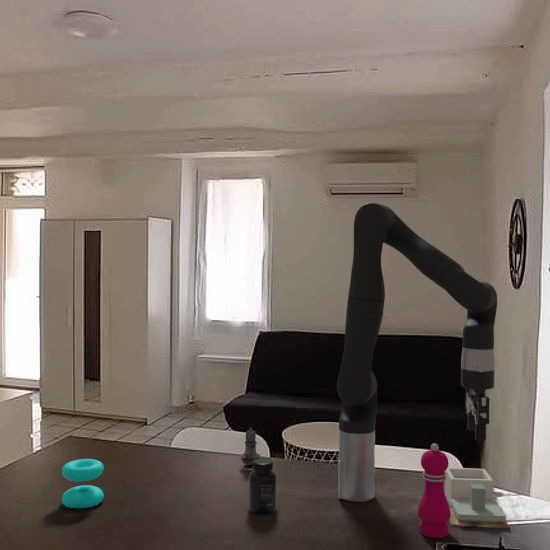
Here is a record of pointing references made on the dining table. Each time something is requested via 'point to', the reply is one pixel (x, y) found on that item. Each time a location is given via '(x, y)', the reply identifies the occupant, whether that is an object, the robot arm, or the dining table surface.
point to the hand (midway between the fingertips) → (476, 435)
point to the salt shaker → (250, 450)
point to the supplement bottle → (262, 488)
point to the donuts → (85, 493)
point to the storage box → (466, 483)
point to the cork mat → (456, 522)
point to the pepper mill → (434, 495)
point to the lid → (477, 507)
